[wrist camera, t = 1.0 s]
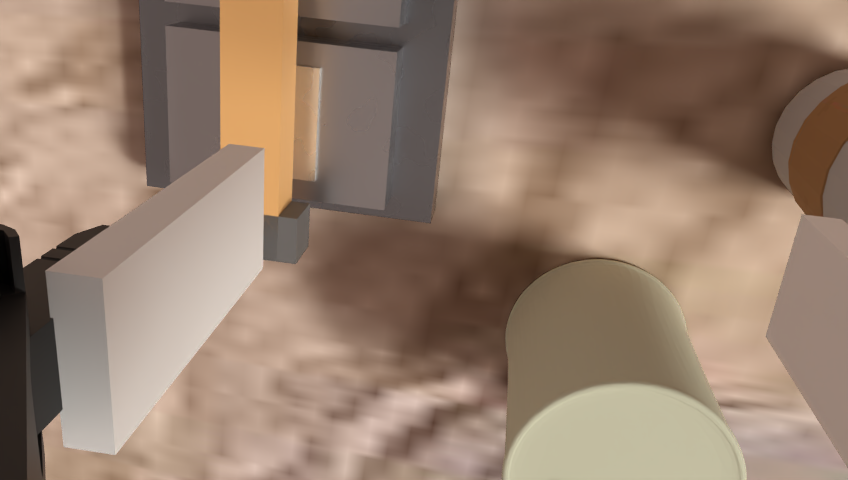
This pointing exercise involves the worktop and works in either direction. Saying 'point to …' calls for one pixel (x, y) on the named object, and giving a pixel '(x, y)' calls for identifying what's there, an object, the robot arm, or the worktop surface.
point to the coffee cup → (816, 147)
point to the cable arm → (264, 110)
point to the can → (609, 383)
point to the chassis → (315, 99)
